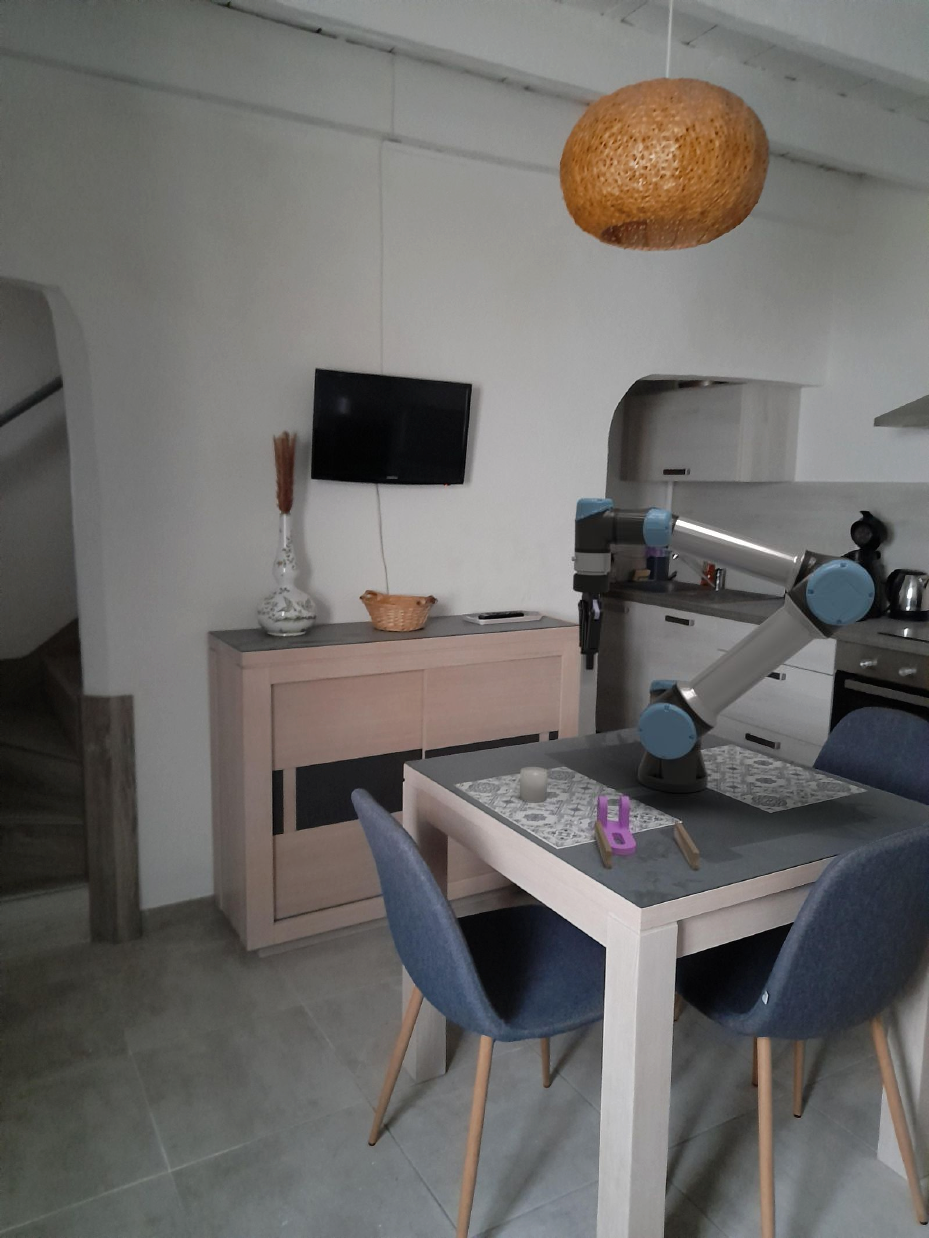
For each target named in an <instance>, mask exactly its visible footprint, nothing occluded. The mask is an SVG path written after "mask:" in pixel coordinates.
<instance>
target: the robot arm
mask: <svg viewBox="0 0 929 1238" xmlns="http://www.w3.org/2000/svg"><path fill="white" fill-rule="evenodd" d="M613 504H614V503H613V499H611V498H602V497H599V498H597V497H582V498H580V499H579V500H577V502H576V508H575V509H576V510H575V511H576V512H575V519H574V554H573V555H574V556H572V557H571V561H572V562H573V570H574V571H575V573H574V574H573V575H572V576H573V579H572V590H573V591H575V592H577V593H581V599H579V601H578V603H577V608H578V641H579V642H578V646H579V648H580V656H581V657H580V680H579V681H580V684H581V685H595V678H596V657H597V656H596V655H597V654H598V653H599V651H600V641H601V632H602V621H603V618H604V610H603V609H602V606H603V603H602V601H601V600H600V599H601V598H600V596H601V595H600V594H604V593H608V592H610V581H611V580H610V579H611V578H610V574H608V573H609V572H611V563H612V562H611V561H612V560H611V559H612V557H611V556H612V553H611V551H612V549H611V548H612V546H613V545H614V546H630V547H631V546H634V547H649V548H656V547H660V548H661V549H666V550H670V551H673V552H676V553H678V554H682V555H685V556H688V557H691V558H694V559H698V560H700V561H704V562H706V563H709V564H713V565H714V566H715V565H716V566H719V567H721V568H725V569H728V570H731V571H735V572H737V573H740V574H744V575H745V576H749V577H752V578H755V579H758V580H761V581H765V582H768V583H770V584H774V585H777V586H780V587H783V588H784V589H785V591H786V593H785V597H784V604H783V606H781V607H780V608H779V609H778V610H776V611H775V612H774V613H773V614H772V615H770V616H769V617H768V618H767V619H765V620H764V621H763V622H761V624H759V625H758V626H756V627H755V628H754V629H753V630H752V631H750V632H749V633H748V634H747V635H746V636H744V637H743V638H742V639H741V640H739V641H738V642H737V643H736V644H735V645H733V646H732V647H730V649H728V650H727V651H725V652H724V653H723V654H722V655H721V656H719V658H717V659H716V660H715V661H714V662H712V663H711V664H710V665H708V667H706V668H705V669H704V670H702V671H701V672H699V673H698V674H697V675H696V676H695V677H693V679H692V680H690V681H686V680H679V679H678V680H675V679H656V680H655V679H654V680H652V681H651V683H650V687H649V690H648V691H649V702H648V703H647V706H646V707H645V709H644V710H643V711H642V712H641V713H640V716H639V718H638V721H637V722H638V723H637V735H638V739H639V740H640V743H641V744H642V746H643V747H644V748H645V751H644V754H643V756H642V759H641V761H640V764H639V767H638V770H637V771H638V772H637V780H638V782H639V783H640V784H642V785H643V786H645V787H647V788H650V789H653V790H656V791H661V792H669V793H675V794H676V793H679V794H681V793H682V794H686V793H695V792H699V791H703V790H705V789H706V788H707V786H708V780H709V779H708V776H709V775H708V772H707V771H708V770H707V769H706V763H705V760H704V757H703V754H702V753H703V752H702V738H703V737H704V736H705V735H706V734H708V733H710V732H711V730H714V728H716V726H717V725H718V716H719V714H720V713H722V712H723V711H725V710H726V709H727V708H728V707H730V706H731V705H732V704H733V703H735V702H736V701H737V700H739V699H740V698H741V697H742V696H744V695H745V694H746V693H748V692H749V691H750V690H752V689H753V688H754V687H755V686H757V685H758V684H759V683H761V682H762V681H763V680H764V679H766V677H769V675H770V674H772V673H773V672H774V671H775V670H777V669H779V667H781V666H782V665H783V664H785V663H786V662H787V661H789V660H790V659H791V658H792V657H794V656H795V655H796V654H798V653H799V652H800V651H802V650H803V649H804V648H805V647H806V646H808V645H809V644H810V643H812V642H813V641H814V640H828V639H830V638H831V637H832V636H834V635H835V634H837V632H839V631H840V630H842V628H844V627H846V626H847V625H852V624H854V623H855V622H858V621H859V620H861V619H862V618H863V617H865V615H866V614H868V612H869V610H870V609H871V607H872V605H873V602H874V599H875V593H876V592H875V584H874V581H873V578H872V576H871V574H869V572H868V571H867V570H866V568H864V567H862V566H861V565H860V564H859V563H858V562H856V561H855V560H853V559H851V558H847V557H844V556H843V557H842V556H836V555H830V554H824V553H818V552H815V551H811V550H808V549H802V550H799V551H794V550H791V549H787V548H785V547H782V546H778V545H775V544H771V543H768V542H765V541H762V540H759V539H755V538H753V537H749V536H747V535H742V534H739V533H736V532H733V531H731V530H726V529H724V528H720V527H717V526H713V525H710V524H708V523H703V522H701V521H697V520H694V519H690V518H687V517H684V516H680V515H677V514H674V513H672V512H671V511H670V510H668V509H662V508H659V507H655V506H650V507H649V506H648V507H646V508H619V507H618V508H617V507H614V505H613Z"/></svg>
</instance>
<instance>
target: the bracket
mask: <svg viewBox="0 0 929 1238" xmlns="http://www.w3.org/2000/svg"><path fill="white" fill-rule="evenodd" d="M596 801H597V802H596V803H597V805H596V821H600V822H601V824H602V827H603V829H604V832H605V834H606V837H607V839H608V842H609V844H610V847H611V849H612V855H617V856H629V855H633V854H635V853H636V851H637V842H636V840H635V839H634V836H633V834H632V833H631V830H630V817H631V815H630V814H631V813H630V812H631V803H630V802H631V801H630V797H629V796H619V800H618V814H617V815H618V817H617V818H618V820H617V821H615V820H613V821H608V811H609V810H608V809H609V808H608V806H609V805H608V798H607V796H604V795H602V796H601V795H598V796H597V800H596ZM615 840H620V841H621V843H622V844H619V843H617V842H616V841H615Z"/></svg>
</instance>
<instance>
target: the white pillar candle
mask: <svg viewBox="0 0 929 1238" xmlns="http://www.w3.org/2000/svg"><path fill="white" fill-rule="evenodd" d="M519 775H520V778H519V800H521V801H523V802H525V803H530V804H531V803H532V804H541V803H544V802H546V801H547V798H548V797H547V796H548V794H547V793H548V770H547V769H546V768H543V767H541V766H524V767H523V768H521V769H520V774H519Z"/></svg>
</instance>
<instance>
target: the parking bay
mask: <svg viewBox="0 0 929 1238" xmlns="http://www.w3.org/2000/svg"><path fill="white" fill-rule="evenodd" d="M673 831H674V833H673V838H674V840H675V842H676V843H677V845H678V847H679V849H680V851H682V854H683V855H684V857H685V858H686V860H687V862H688V863H689V865H690V867H691V869H692V870H700V857H701V855H700V854H701V852H700V851H699V849H698V848H697V847H696V845H695V843H694V842H693V840H692V838H691V837H690V835H689V834H688V832H687V831H686V829H685V827H684V826H683V824H682V823H681V822H680V821H677V822H674V830H673ZM593 833H594V835H593V836H594V837H593V838H594V839H595V842H596V845H597V848H598V850H599V853H600V856H601V859H602V861H603V864H604V866H605V869H612V867H613V854H612V849H611V847H610V844H609V842H608V839H607V837H606V834H605V832H604V829H603V827H602V824H601V822H600V821H597V820H594V832H593Z"/></svg>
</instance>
